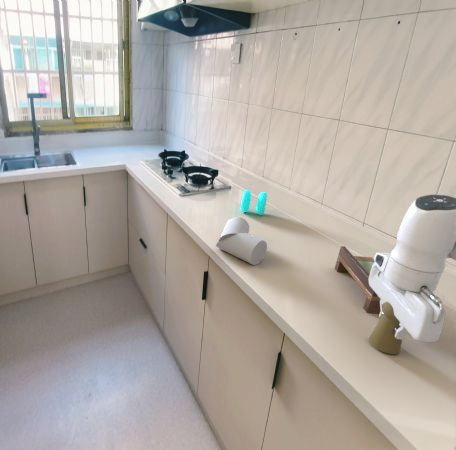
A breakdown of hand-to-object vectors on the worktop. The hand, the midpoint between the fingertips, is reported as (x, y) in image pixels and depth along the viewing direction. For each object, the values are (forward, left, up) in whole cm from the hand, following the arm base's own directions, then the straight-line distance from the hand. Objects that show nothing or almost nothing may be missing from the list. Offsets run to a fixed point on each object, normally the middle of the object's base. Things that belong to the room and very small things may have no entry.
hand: (390, 327), depth 74 cm
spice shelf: (-7, -23, -5) cm, 24 cm away
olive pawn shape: (0, 0, -5) cm, 5 cm away
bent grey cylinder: (+27, -42, -5) cm, 50 cm away
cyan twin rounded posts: (+17, -78, -5) cm, 80 cm away
